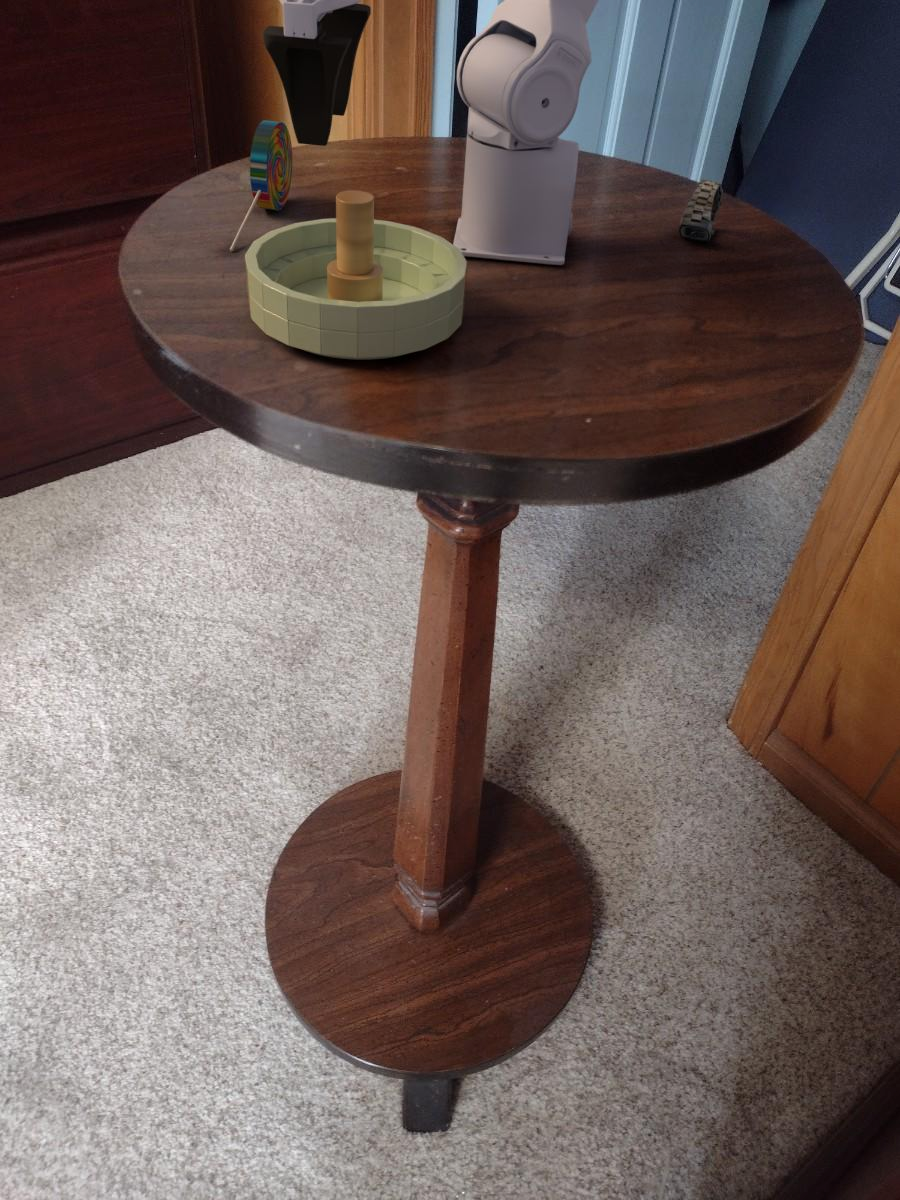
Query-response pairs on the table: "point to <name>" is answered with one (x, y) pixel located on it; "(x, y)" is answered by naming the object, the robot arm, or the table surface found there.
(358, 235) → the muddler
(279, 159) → the lollipop
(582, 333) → the table surface
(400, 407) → the table surface
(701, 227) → the wristwatch
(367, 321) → the bowl
